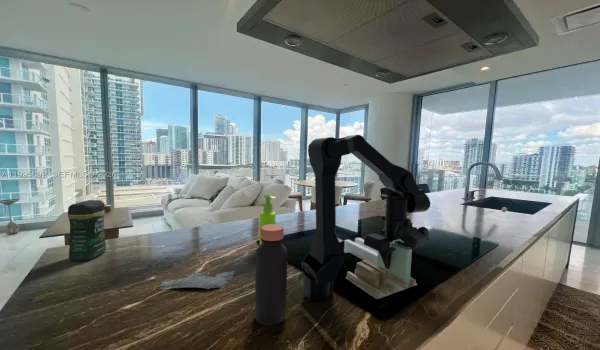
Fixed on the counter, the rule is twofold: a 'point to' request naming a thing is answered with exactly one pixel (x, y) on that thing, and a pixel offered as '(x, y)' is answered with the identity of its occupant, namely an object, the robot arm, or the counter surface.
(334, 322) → the counter surface
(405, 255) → the green sheet
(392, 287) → the birch rack
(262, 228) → the bottle
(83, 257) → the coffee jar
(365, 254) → the grey slotted stand
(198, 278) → the stone slab
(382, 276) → the middle offcut
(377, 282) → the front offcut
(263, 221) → the soap dispenser
